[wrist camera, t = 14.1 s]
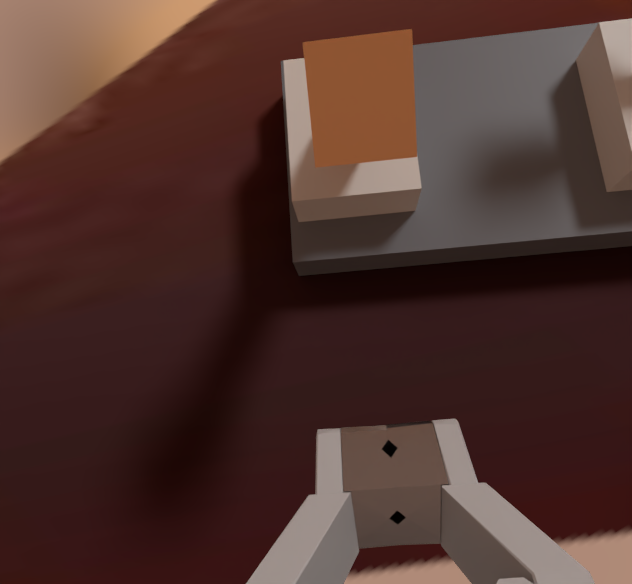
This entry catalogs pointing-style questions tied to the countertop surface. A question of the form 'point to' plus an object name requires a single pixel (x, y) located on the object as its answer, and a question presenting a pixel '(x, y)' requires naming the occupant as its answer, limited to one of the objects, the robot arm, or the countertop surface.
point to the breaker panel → (478, 157)
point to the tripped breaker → (361, 98)
